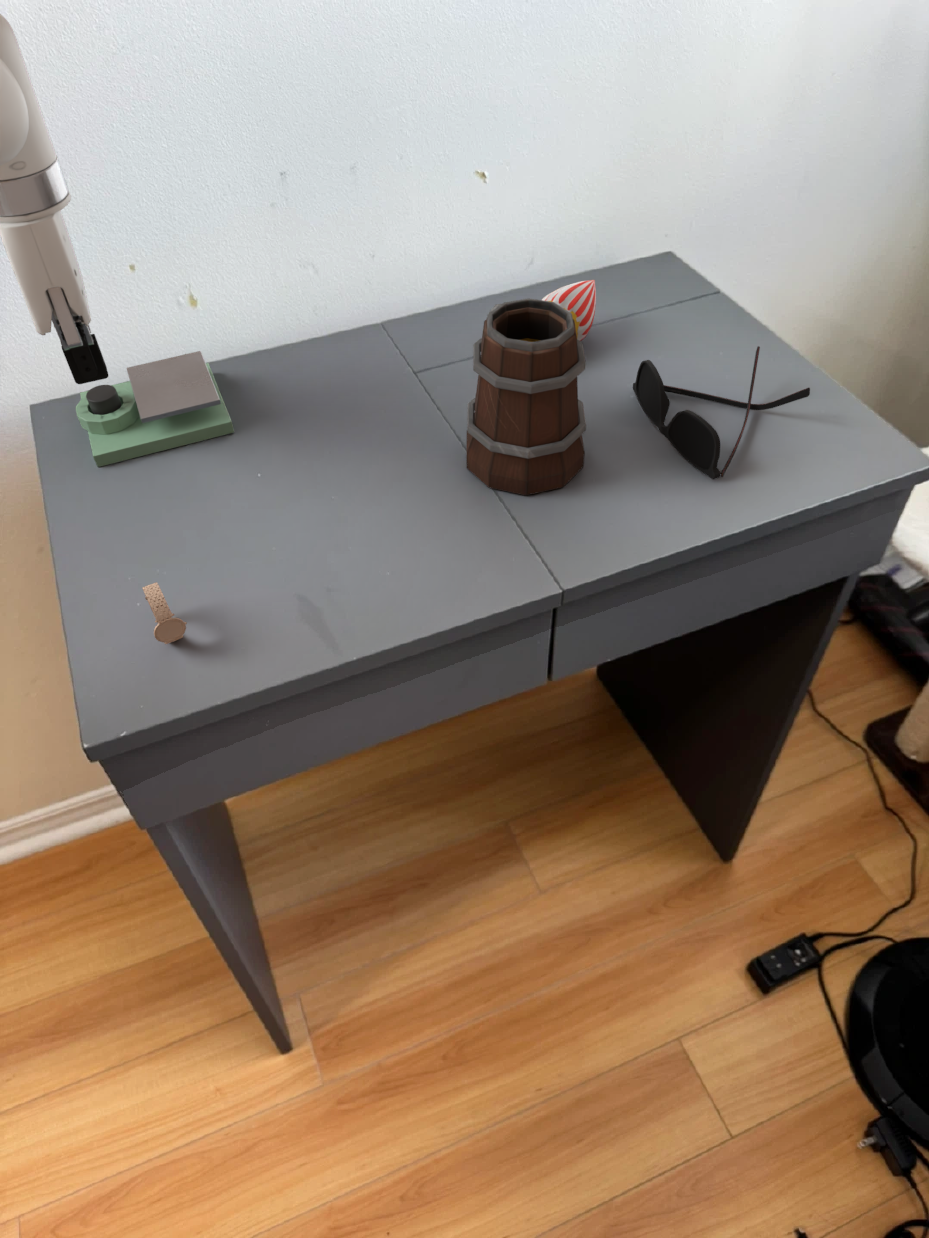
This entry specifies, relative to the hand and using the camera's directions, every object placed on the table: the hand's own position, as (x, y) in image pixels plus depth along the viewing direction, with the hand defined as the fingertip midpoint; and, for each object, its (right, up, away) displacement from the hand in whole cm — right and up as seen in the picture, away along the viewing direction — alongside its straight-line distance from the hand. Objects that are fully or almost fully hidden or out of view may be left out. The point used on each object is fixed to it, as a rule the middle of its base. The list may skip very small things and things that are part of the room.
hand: (92, 377), depth 87 cm
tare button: (0, -2, +3) cm, 4 cm away
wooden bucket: (+43, -7, +2) cm, 43 cm away
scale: (+4, -3, +6) cm, 8 cm away
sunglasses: (+64, -4, +4) cm, 64 cm away
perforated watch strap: (+13, -25, -14) cm, 31 cm away
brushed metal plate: (+7, 0, +4) cm, 8 cm away
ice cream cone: (+46, +6, +13) cm, 49 cm away
